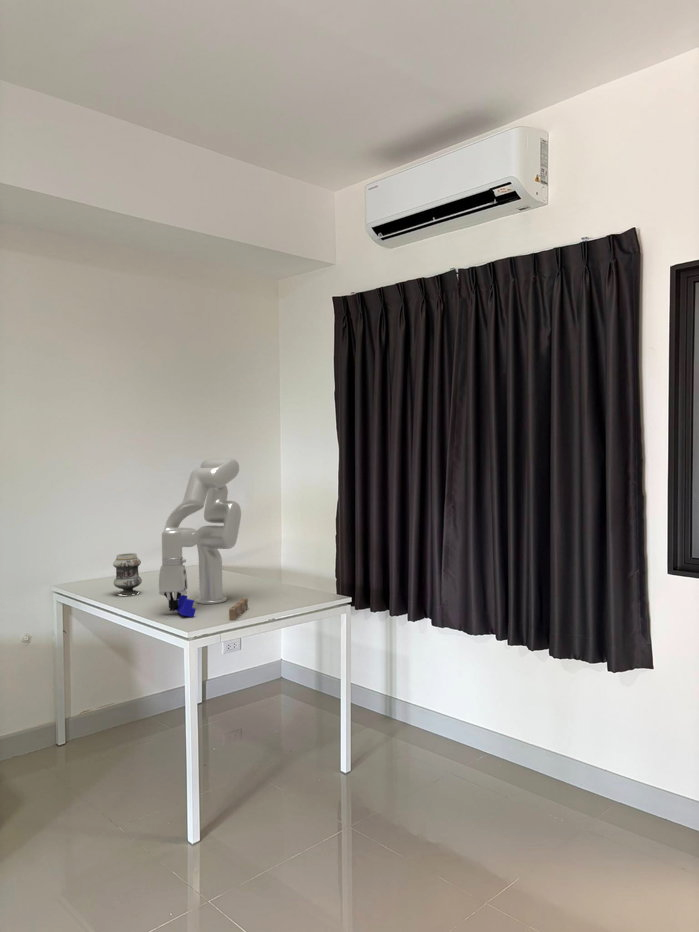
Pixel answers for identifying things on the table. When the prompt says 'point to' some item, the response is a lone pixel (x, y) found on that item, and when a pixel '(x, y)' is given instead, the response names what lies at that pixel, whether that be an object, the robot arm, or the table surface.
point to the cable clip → (185, 606)
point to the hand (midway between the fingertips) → (173, 609)
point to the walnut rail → (238, 608)
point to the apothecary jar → (127, 573)
